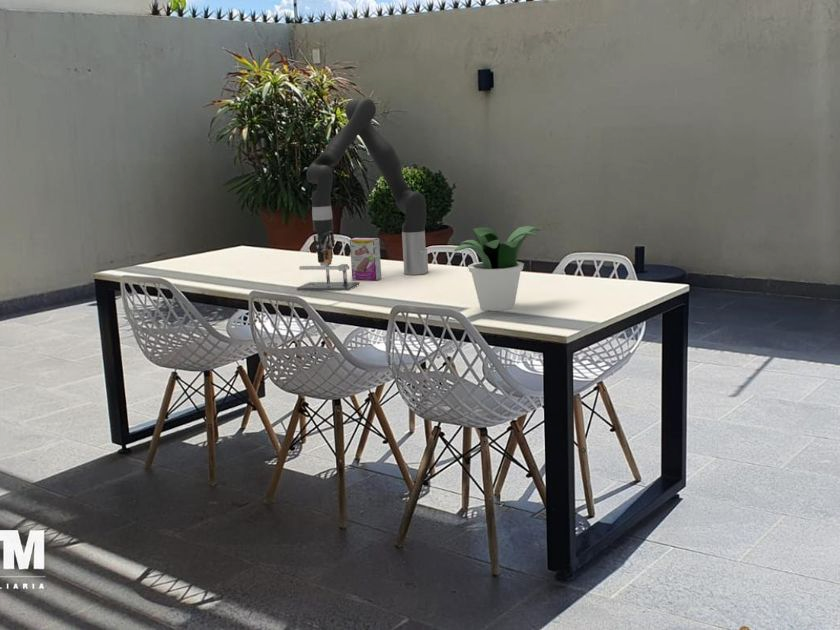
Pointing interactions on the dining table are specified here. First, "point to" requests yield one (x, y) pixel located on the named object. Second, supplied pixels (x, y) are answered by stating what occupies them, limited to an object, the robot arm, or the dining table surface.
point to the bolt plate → (332, 285)
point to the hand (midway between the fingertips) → (325, 260)
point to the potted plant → (496, 267)
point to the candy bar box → (365, 258)
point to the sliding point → (327, 262)
